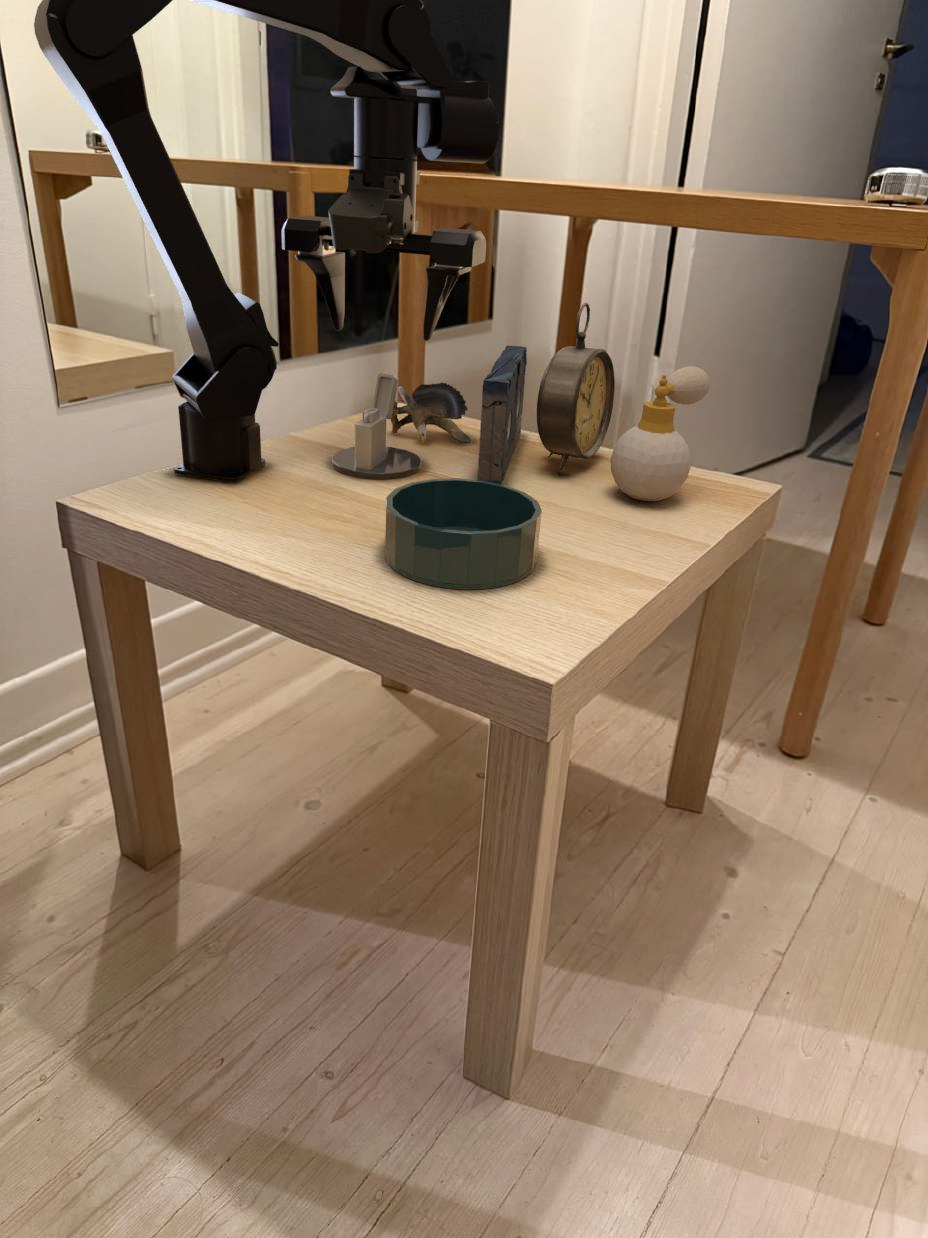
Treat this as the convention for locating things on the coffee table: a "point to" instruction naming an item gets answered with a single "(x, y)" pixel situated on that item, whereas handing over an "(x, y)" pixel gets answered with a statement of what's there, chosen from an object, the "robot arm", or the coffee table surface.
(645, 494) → the perfume bottle
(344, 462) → the coaster
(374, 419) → the lighter
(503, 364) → the vhs cassette tape
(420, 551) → the shallow faceted bowl
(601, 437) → the alarm clock
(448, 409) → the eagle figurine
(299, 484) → the coffee table surface
